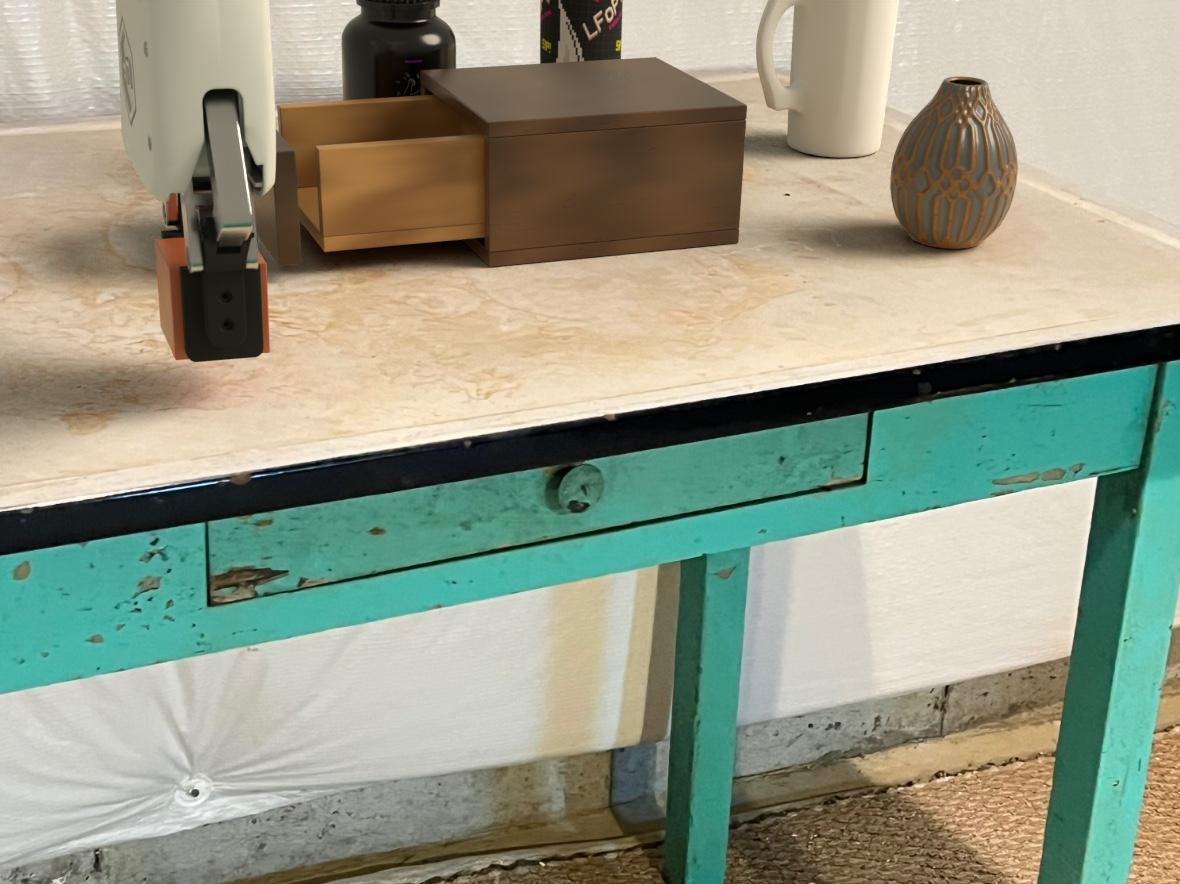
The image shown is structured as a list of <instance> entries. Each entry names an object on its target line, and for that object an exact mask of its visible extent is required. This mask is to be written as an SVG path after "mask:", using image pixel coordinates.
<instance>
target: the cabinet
mask: <svg viewBox="0 0 1180 884" xmlns="http://www.w3.org/2000/svg"><path fill="white" fill-rule="evenodd" d="M420 83H421V96H423V95H435V96H436V97H438V98H439V99H440V100H442V101H443V102H444V103H445V104H447V105H448V106H449V107H450V108H452V109H453V110H454V111H456V112H457V113H458V114H459V115H461V116H462V117H463V118H465V119H466V120H467V121H468V122H470V123H471V124H472V125H473V126H475V127H476V128H477V129H479V130H480V131H481V132H482V133H484V134H485V135H484V175H485V237H483V238H472V239H461V241H463V242H464V243H465V244H466V245H467V246H468V247H469V248H470V249H471V250H472V251H473V252H474V253H475V254H476V255H477V256H478V257H479V258H480V260H481V261H483V262H484V263H485V264H486V265H487V266H488V267H489V268H492V267H503V266H513V265H523V264H524V265H525V264H534V263H544V262H545V263H546V262H555V261H565V260H574V259H584V258H585V259H586V258H595V257H596V258H597V257H606V256H616V255H625V254H627V255H628V254H637V253H647V252H648V253H649V252H656V251H657V252H659V251H666V250H677V249H678V250H679V249H689V248H699V247H709V246H710V247H711V246H720V245H729V244H738V243H739V239H740V224H741V223H740V221H741V207H742V195H743V194H742V193H743V177H744V162H745V147H746V145H745V144H746V134H747V133H746V132H747V117H748V115H747V114H748V104H746V103H744V102H742V101H740V100H738V99H736V98H735V97H733V96H731V95H729V94H727V93H725V92H723V91H721V90H719V89H717V88H716V87H714V86H712V85H709V83H708V84H707V83H706V82H704V81H702V80H701V79H698V78H696V77H695V76H692V75H691V74H690V73H687V72H685V71H683V70H682V69H679V68H678V67H676V66H673V65H672V64H670V63H668V62H667V61H664V60H662V59H661V58H658V57H656V56H650V57H634V58H621V59H614V60H596V61H578V62H561V63H543V64H540V63H530V64H529V63H528V64H510V65H493V66H491V65H490V66H475V67H474V66H473V67H456V68H455V69H437V70H421V71H420Z"/></svg>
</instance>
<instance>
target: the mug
mask: <svg viewBox="0 0 1180 884" xmlns="http://www.w3.org/2000/svg"><path fill="white" fill-rule="evenodd" d="M899 5H900V0H767V1H766V4H765V7H764V9H763V12H762V14H761V18H760V21H759V24H758V29H757V33H756V41H755V59H756V67H757V72H758V77H759V81H760V85H761V88H762V93H763V98H764V101H765V105H766V107H767V108H769V109H772V110H774V111H776V112H779V111H785V110H787V135H786V141H787V145H788V146H789V147H790V148H791V149H793V150H795V151H797V152H800V153H803V154H807V155H811V156H818V157H825V158H857V157H858V158H859V157H866V156H869V155H872V154H875V153H876V152H878V151H879V150H880V149H881V145H882V144H881V143H882V137H883V132H884V131H883V130H884V123H885V116H886V109H887V101H888V100H887V99H888V93H889V84H890V77H891V68H892V61H893V53H894V46H895V37H896V29H897V22H898V21H897V20H898V14H899ZM791 7H793V21H792V38H791V39H792V40H791V57H790V77H789V85H785V86H784V84H782V82H781V81H780V79H779V77H778V75H777V71H776V67H775V62H774V53H773V44H774V36H775V33H776V29H777V26H778V23H779V22H780V20H781V18H782V16H783V15H784V13H785V12H786V11H788V9H789V8H791Z"/></svg>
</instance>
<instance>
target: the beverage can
mask: <svg viewBox="0 0 1180 884" xmlns="http://www.w3.org/2000/svg"><path fill="white" fill-rule="evenodd" d="M539 2H540V3H539V9H540V10H539V24H540V25H539V64H543V63H561V62H578V61H596V60H614V59H622V39H623V38H622V37H623V36H622V35H623V33H622V32H623V3H624V1H623V0H539Z"/></svg>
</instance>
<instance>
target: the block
mask: <svg viewBox="0 0 1180 884" xmlns="http://www.w3.org/2000/svg"><path fill="white" fill-rule="evenodd" d="M154 250H155V251H154V253H155V254H154V255H155V265H156V281H157V293H158V295H157V296H158V308H159V320H160V321H159V323H160V324H159V325H160V329H161V331H162V333H163V335H164V337H165V340H166V343H167V344H168V346H169V349H170V351H171V353H172V356H173V358H174V360H175V361H184V360H190V359H189V358H188V357H187V355H186V352H185V345H184V330H183V314H182V299H181V284H180V269H179V266H187V260H186V250H185V239H184V238H168V239H162V238H156V239H154ZM258 260H259V264H260V271H261V295H262V319H263V344H264V349H263V352H262V354H270V352H271V340H270V315H269V313H270V312H269V291H268V287H269V286H268V263H267V262H266V260H265V258H264V257H263V255H262V254H261V252H260V251H259V250H258Z"/></svg>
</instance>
